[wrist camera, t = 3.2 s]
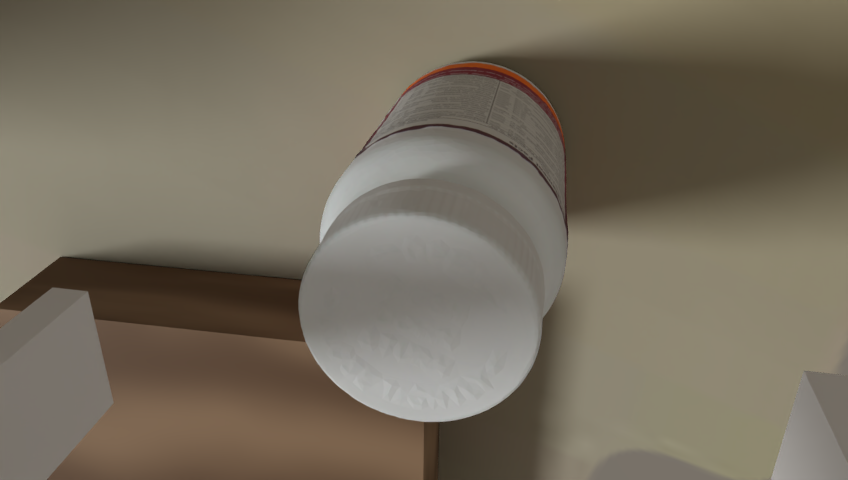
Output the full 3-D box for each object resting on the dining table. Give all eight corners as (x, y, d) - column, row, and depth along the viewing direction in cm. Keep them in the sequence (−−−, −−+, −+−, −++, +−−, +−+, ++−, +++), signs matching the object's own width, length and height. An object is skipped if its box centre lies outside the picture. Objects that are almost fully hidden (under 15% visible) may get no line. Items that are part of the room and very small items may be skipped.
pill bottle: (479, 258, 27) (430, 487, 17) (351, 147, 26) (218, 323, 16) (605, 144, 24) (636, 337, 14) (469, 15, 23) (397, 124, 13)
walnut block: (60, 257, 30) (-7, 308, 26) (442, 293, 28) (424, 355, 24) (128, 529, 37) (83, 598, 34) (435, 577, 35) (421, 656, 31)
